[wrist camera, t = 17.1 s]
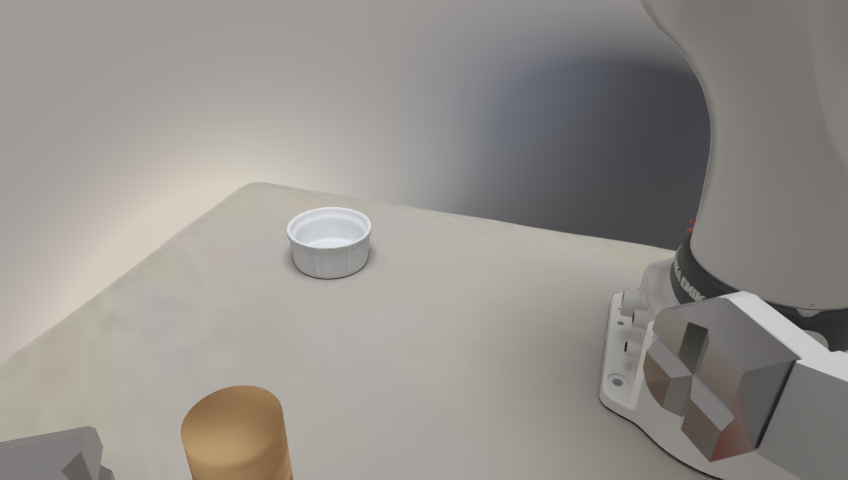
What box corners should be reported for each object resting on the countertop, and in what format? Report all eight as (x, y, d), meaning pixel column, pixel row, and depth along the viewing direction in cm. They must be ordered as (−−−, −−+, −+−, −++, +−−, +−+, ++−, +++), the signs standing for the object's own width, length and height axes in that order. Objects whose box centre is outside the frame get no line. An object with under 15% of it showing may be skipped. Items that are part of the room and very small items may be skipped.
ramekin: (329, 231, 72) (327, 198, 70) (389, 255, 68) (388, 221, 66) (272, 264, 66) (268, 229, 64) (334, 293, 62) (331, 257, 59)
